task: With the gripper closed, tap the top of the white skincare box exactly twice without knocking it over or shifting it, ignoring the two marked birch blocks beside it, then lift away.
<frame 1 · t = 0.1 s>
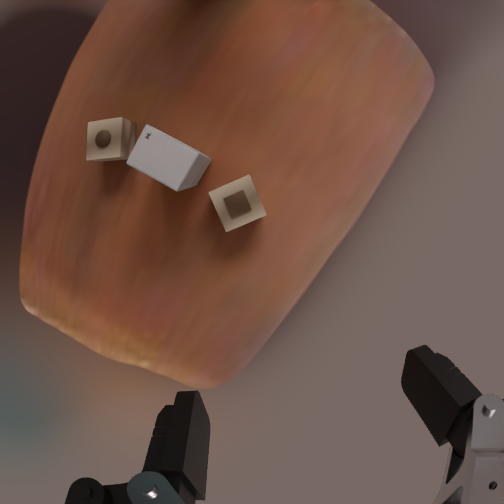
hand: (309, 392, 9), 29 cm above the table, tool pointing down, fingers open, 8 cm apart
marked block b: (119, 142, 33), on the table
marked block a: (238, 200, 36), on the table
skincare box: (185, 162, 35), on the table
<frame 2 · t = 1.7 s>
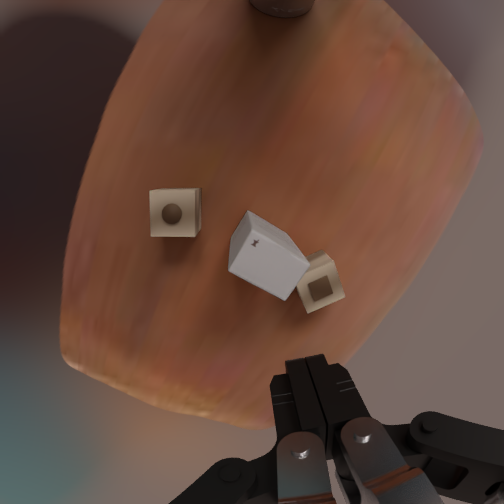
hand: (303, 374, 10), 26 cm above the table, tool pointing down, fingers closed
marked block b: (181, 208, 34), on the table
marked block a: (310, 273, 37), on the table
skincare box: (259, 235, 35), on the table
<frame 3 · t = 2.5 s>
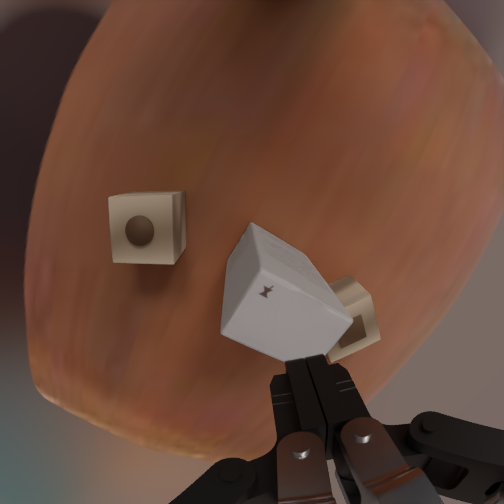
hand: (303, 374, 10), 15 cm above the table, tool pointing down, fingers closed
marked block b: (158, 219, 24), on the table
marked block a: (333, 305, 27), on the table
skincare box: (267, 257, 25), on the table
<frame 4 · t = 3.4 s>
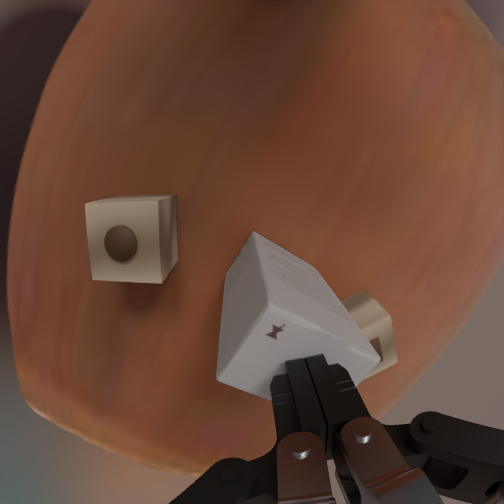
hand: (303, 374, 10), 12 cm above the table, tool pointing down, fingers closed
marked block b: (146, 227, 20), on the table
marked block a: (345, 323, 23), on the table
skincare box: (271, 271, 22), on the table, touching gripper
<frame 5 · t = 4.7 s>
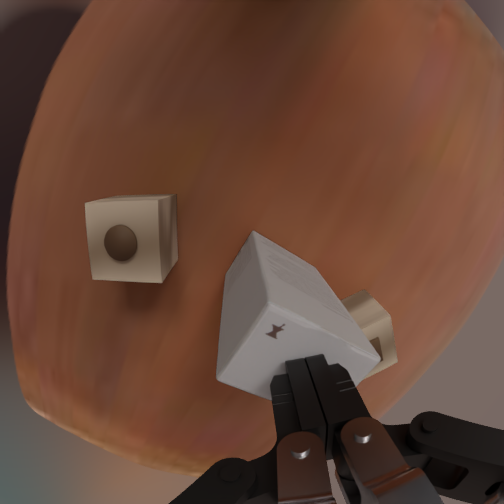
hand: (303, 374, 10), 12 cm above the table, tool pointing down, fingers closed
marked block b: (146, 227, 20), on the table
marked block a: (345, 323, 23), on the table
skincare box: (271, 271, 22), on the table, touching gripper
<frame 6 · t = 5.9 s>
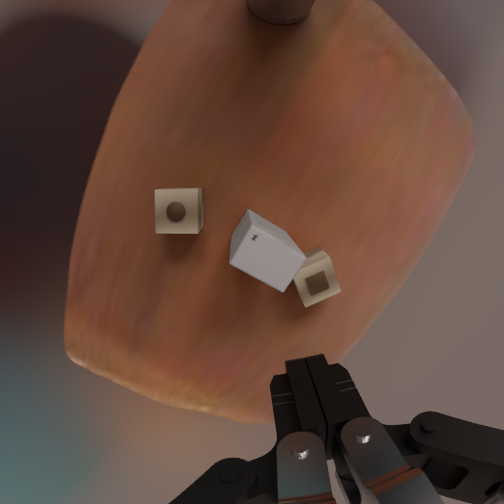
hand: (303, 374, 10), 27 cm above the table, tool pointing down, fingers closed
marked block b: (184, 207, 35), on the table
marked block a: (308, 269, 38), on the table
skincare box: (259, 233, 37), on the table
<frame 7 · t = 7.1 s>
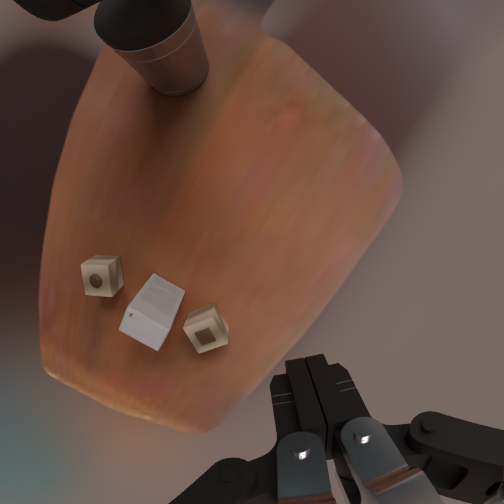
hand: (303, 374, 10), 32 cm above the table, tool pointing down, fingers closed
marked block b: (109, 270, 42), on the table
marked block a: (208, 320, 45), on the table
skincare box: (165, 291, 43), on the table
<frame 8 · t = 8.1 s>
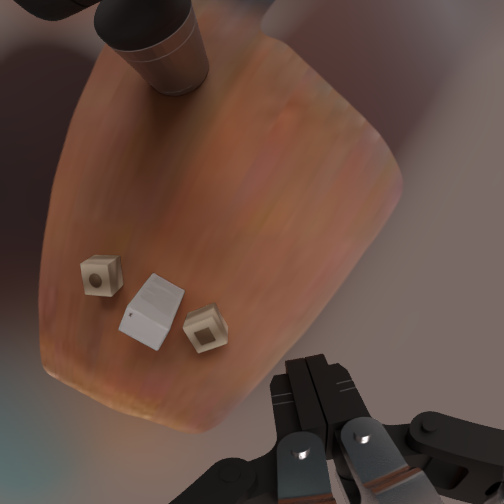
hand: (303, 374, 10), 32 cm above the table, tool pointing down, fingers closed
marked block b: (108, 269, 42), on the table
marked block a: (208, 320, 45), on the table
skincare box: (164, 291, 43), on the table
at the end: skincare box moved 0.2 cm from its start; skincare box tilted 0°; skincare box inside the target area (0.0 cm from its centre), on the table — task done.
